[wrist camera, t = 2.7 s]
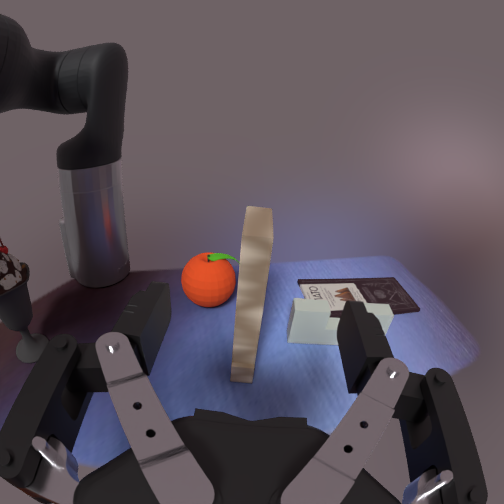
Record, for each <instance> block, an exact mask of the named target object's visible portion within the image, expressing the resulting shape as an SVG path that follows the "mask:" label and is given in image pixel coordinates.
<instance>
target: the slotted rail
mask: <svg viewBox="0 0 504 504" xmlns="http://www.w3.org/2000/svg"><path fill="white" fill-rule="evenodd" d="M364 305H365V307H366V310H367V312H369V313H373V314H374V315H375V316H376V317H377V318H378V319H379V321H380V323H381V326H382V330H383V331H384V333H385V334H386V332H387V330H388V328H389V326H390V324H391V321H392V319H393V317H394V314H393V312H392V310H391V308H390V306H389V304H375V303H364ZM330 314H331V311H330V308H329V304H328V301H327V300H313V299H300V298H294V299H293V304H292V308H291V313H290V318H289V322H288V327H287V341H288V343H301V344H322V345H338V342H337V327H338V323H339V320H340V318H332V317H330Z"/></svg>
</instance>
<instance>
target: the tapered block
mask: <svg viewBox="0 0 504 504" xmlns="http://www.w3.org/2000/svg"><path fill="white" fill-rule="evenodd" d="M272 244H273V221H272V209H270V208H261V207H251V206H247V209H246V215H245V221H244V227H243V233H242V242H241V254H240V266H239V278H238V290H237V302H236V315H235V328H234V341H233V354H232V365H231V378H230V381H232V382H242V383H252V380H253V374H254V367H255V359H256V353H257V346H258V340H259V333H260V327H261V320H262V314H263V307H264V300H265V293H266V287H267V280H268V273H269V266H270V258H271V252H272Z"/></svg>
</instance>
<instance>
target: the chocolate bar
mask: <svg viewBox="0 0 504 504" xmlns="http://www.w3.org/2000/svg"><path fill="white" fill-rule="evenodd" d="M298 285H299V287H300V289H301V291H302V294H303V296H304V298H305V299H313V300H327V301H328V304H329V308H330V311H331V314H330V317H332V318H340V317H341V314H342V311H343V308H344V305H345V303H346V301H347V300H349V301H362V302H364V303H375V304H389V306H390V308H391V310H392V312H393V314H394V315H395V314H404V313H412V312H419V311H420V308H419V307H418V305H417V304H416V303H415V302H414V301H413V299H412V298H411V297H410V296H409V294H408V293H407V292H406V291H405V290H404V288H403V287H402V286H401V285H400V284H399V283H398V281H397V280H396V279H395V278H394V277H390V278H353V279H298Z"/></svg>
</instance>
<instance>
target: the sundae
mask: <svg viewBox="0 0 504 504" xmlns="http://www.w3.org/2000/svg"><path fill="white" fill-rule="evenodd" d="M0 243H1V245H2V246H0V319H1V320H2V322H3V323H4V324H5V325H6V327H7V328H9V329H11V330H14V331H20V333H21V335H22V337H23V339H22V340H21V341H20V342H19V343H18V345H17V348H16V355H17V357H18V359H19V360H21V361H22V362H25V363H33V362H37V360H38V359H39V357H40V355H41V354H42V352H43V350H44V349H45V347H46V346H47V344H48V342H49V340H48V339H47V338H46V337H45V336H44V335H42V334H36V333H35V334H30V333H29V330H28V328H27V327H28V325H29V324H30V322H31V319H32V317H33V314H32V307H31V301H30V297H29V292H28V288H27V281H28V280H29V267H28V265H27V264H26V263H19V260H18V259H17V258H16V257H14V256H13V255H11V254H8V248H7V247H6V246H3V243H2V241H1V239H0Z"/></svg>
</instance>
